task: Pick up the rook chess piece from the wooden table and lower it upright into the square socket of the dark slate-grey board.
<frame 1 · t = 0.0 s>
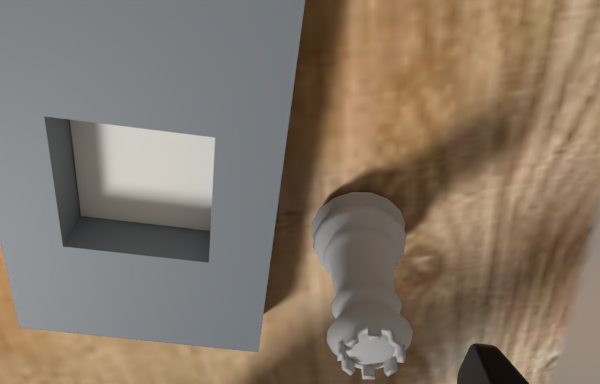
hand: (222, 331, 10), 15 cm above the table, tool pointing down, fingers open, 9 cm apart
socket board: (148, 164, 25), on the table
rook chess piece: (357, 221, 27), on the table
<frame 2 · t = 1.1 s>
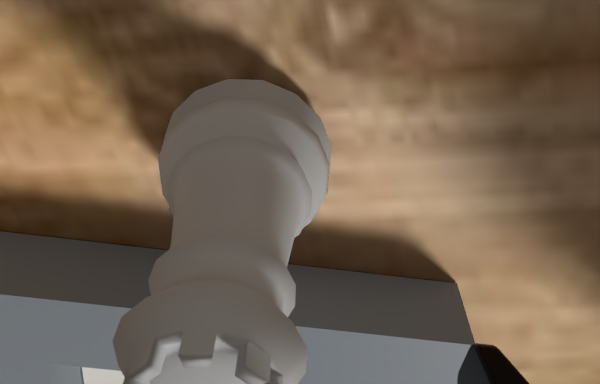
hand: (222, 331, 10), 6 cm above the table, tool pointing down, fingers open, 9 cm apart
socket board: (172, 373, 21), on the table
rook chess piece: (250, 144, 15), on the table
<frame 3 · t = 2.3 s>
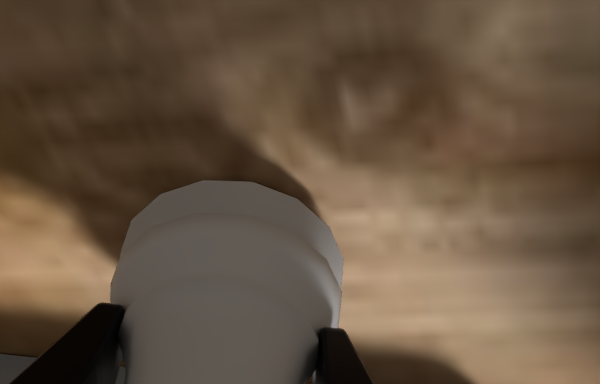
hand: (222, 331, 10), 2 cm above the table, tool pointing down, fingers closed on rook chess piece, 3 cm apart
rook chess piece: (236, 249, 12), on the table, touching gripper
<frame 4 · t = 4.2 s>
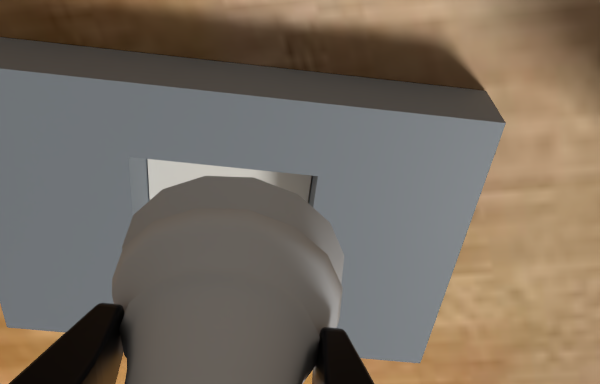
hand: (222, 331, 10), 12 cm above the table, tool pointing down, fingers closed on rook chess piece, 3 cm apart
socket board: (229, 201, 23), on the table
rook chess piece: (237, 245, 12), point 10 cm above the table, touching gripper
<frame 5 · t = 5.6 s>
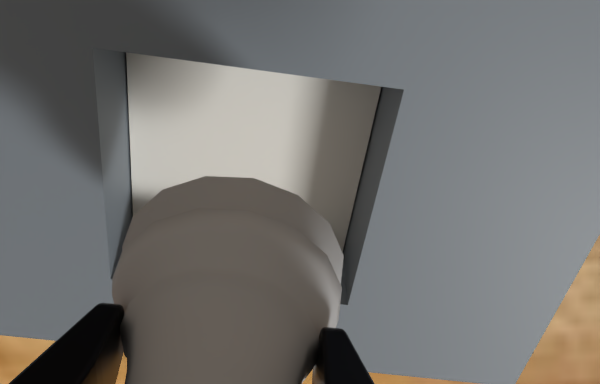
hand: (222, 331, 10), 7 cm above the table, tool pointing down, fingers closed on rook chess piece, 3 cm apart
socket board: (248, 144, 16), on the table
rook chess piece: (237, 245, 12), point 4 cm above the table, touching gripper
when the fingers open (4 cm above the table, at t = 6.4 s): rook chess piece drops 1 cm, resting on socket board.
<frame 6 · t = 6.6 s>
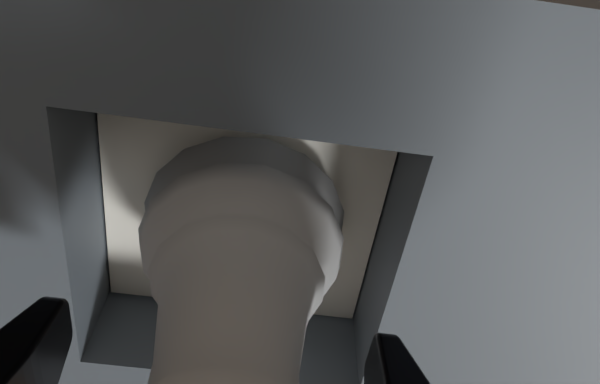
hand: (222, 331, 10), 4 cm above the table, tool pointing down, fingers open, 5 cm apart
socket board: (243, 201, 13), on the table
rook chess piece: (247, 204, 13), resting on socket board
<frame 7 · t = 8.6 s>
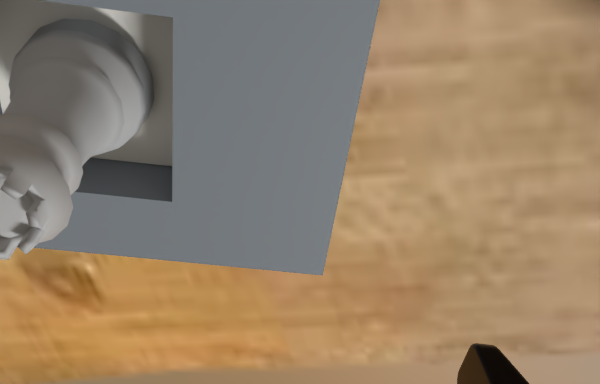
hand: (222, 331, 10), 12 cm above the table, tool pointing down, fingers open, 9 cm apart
socket board: (92, 75, 20), on the table
rook chess piece: (94, 76, 19), resting on socket board
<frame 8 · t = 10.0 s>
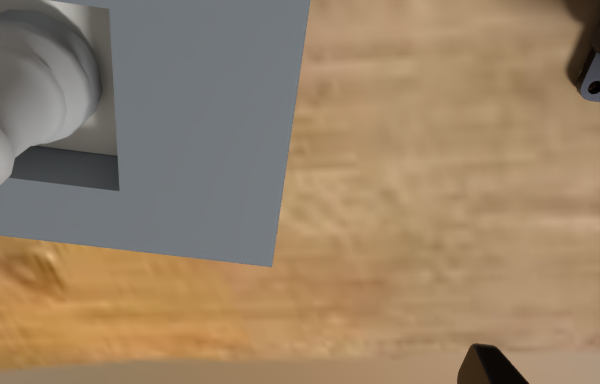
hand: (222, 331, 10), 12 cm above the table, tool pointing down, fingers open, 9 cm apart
socket board: (43, 66, 20), on the table
rook chess piece: (44, 66, 20), resting on socket board
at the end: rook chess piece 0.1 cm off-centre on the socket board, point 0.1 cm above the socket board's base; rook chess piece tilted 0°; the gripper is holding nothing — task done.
